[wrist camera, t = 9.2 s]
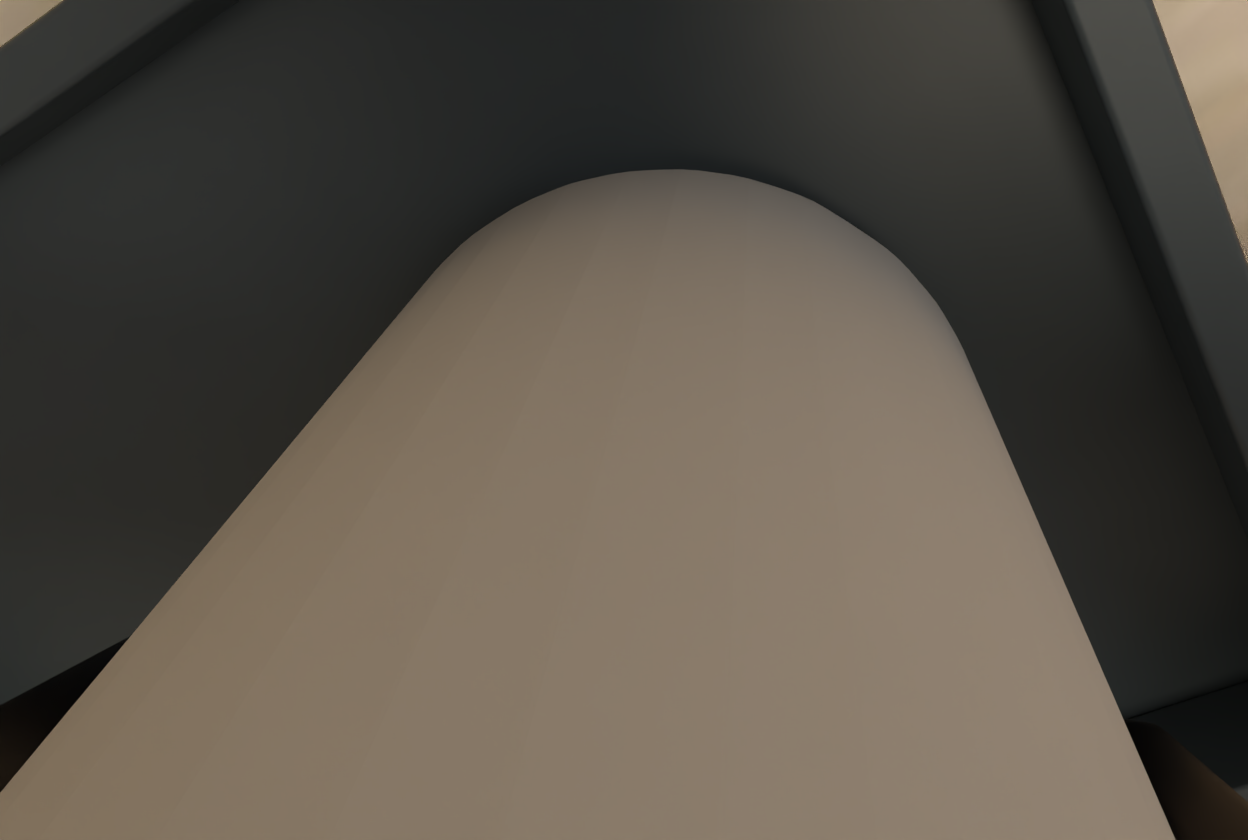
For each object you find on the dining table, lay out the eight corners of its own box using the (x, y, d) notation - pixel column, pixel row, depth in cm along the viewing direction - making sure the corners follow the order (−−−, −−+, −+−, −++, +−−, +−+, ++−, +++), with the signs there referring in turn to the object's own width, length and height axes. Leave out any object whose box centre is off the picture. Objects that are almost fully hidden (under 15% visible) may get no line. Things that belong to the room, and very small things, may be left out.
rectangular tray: (891, -540, 9) (924, -642, 7) (1344, 656, 13) (1434, 776, 12) (-364, 361, 14) (-524, 432, 12) (261, 1001, 19) (209, 1121, 17)
